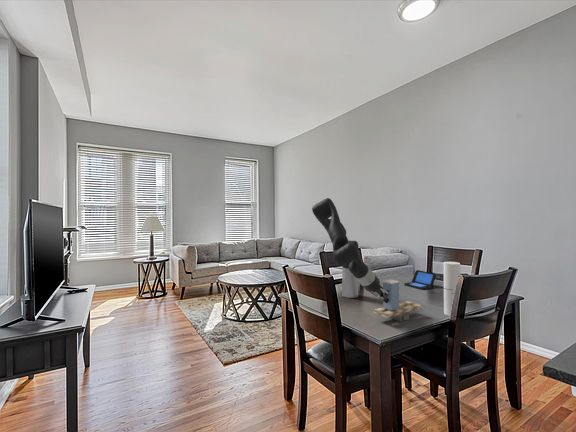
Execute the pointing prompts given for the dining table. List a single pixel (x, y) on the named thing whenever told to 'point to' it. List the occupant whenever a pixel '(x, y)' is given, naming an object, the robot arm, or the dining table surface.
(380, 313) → the ginger root
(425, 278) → the handheld game console
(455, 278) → the cylindrical container
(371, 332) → the dining table surface
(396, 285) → the blue rectangular block
